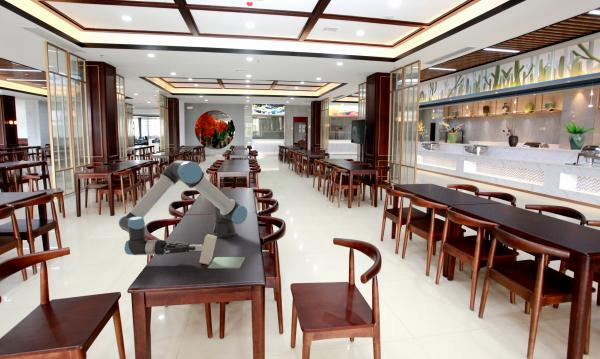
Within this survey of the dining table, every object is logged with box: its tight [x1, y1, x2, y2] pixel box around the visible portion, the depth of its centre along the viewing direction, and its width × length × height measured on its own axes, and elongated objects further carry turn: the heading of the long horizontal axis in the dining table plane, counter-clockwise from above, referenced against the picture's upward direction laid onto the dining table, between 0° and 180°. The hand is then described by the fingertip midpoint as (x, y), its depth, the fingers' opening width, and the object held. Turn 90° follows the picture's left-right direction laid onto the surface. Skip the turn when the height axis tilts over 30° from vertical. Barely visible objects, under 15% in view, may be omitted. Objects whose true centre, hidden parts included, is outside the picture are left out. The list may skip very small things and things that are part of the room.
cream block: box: [198, 233, 218, 266], centre depth 179 cm, size 5×5×14 cm
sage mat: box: [207, 256, 246, 269], centre depth 179 cm, size 14×16×1 cm
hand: (202, 247), depth 178 cm, fingers closed
